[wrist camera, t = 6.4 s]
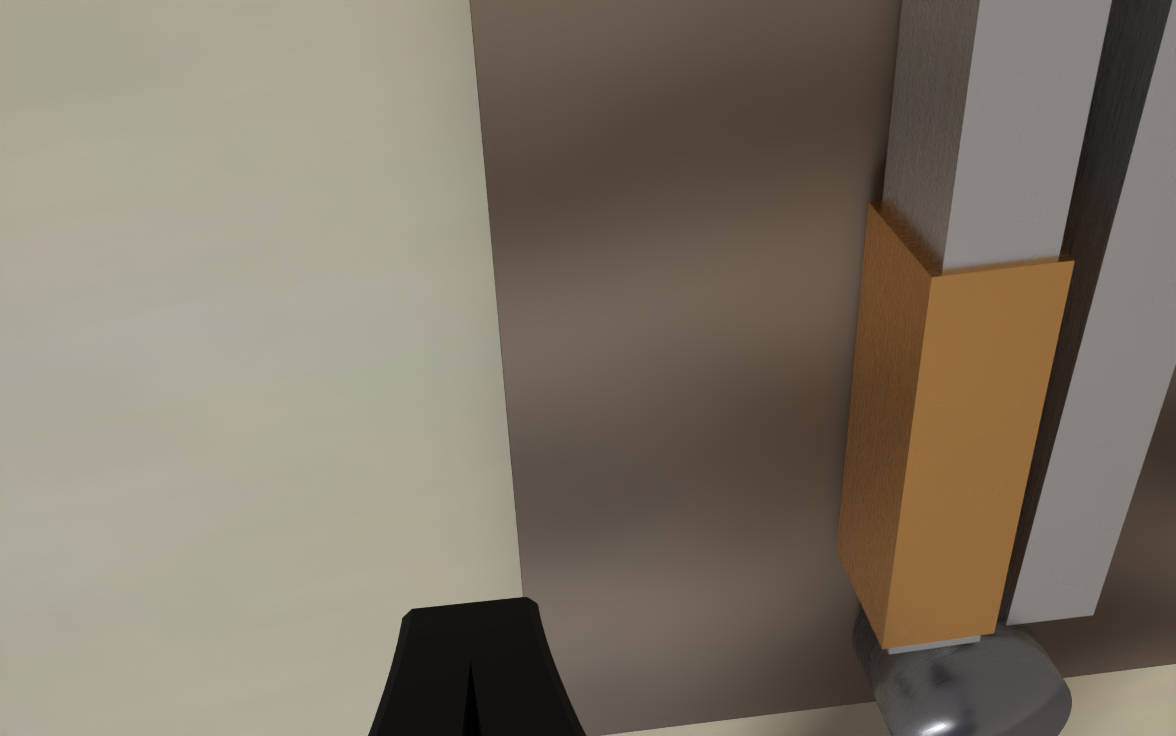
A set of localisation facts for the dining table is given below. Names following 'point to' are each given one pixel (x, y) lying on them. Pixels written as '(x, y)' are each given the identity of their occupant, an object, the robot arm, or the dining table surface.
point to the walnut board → (712, 352)
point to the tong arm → (962, 357)
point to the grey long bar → (1106, 326)
